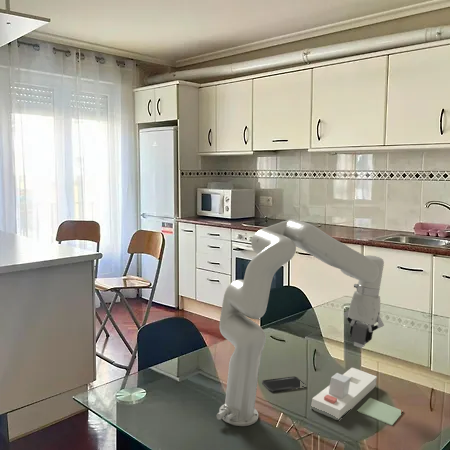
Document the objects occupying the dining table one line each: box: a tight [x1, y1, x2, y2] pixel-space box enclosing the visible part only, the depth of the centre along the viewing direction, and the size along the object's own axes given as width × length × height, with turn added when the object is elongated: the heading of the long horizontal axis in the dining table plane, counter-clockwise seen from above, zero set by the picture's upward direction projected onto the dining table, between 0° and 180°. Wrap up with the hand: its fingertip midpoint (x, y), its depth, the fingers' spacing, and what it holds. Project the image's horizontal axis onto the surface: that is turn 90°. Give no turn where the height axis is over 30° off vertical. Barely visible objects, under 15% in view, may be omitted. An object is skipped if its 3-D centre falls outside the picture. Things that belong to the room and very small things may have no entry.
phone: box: [261, 376, 305, 394], centre depth 184 cm, size 8×1×15 cm
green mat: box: [356, 397, 402, 426], centre depth 172 cm, size 12×12×1 cm
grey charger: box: [329, 372, 350, 399], centre depth 173 cm, size 5×5×8 cm
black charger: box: [350, 321, 369, 349], centre depth 182 cm, size 5×5×8 cm
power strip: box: [310, 367, 378, 419], centre depth 179 cm, size 34×10×5 cm, turn 144°
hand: (360, 338), depth 182 cm, fingers closed on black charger, 5 cm apart
